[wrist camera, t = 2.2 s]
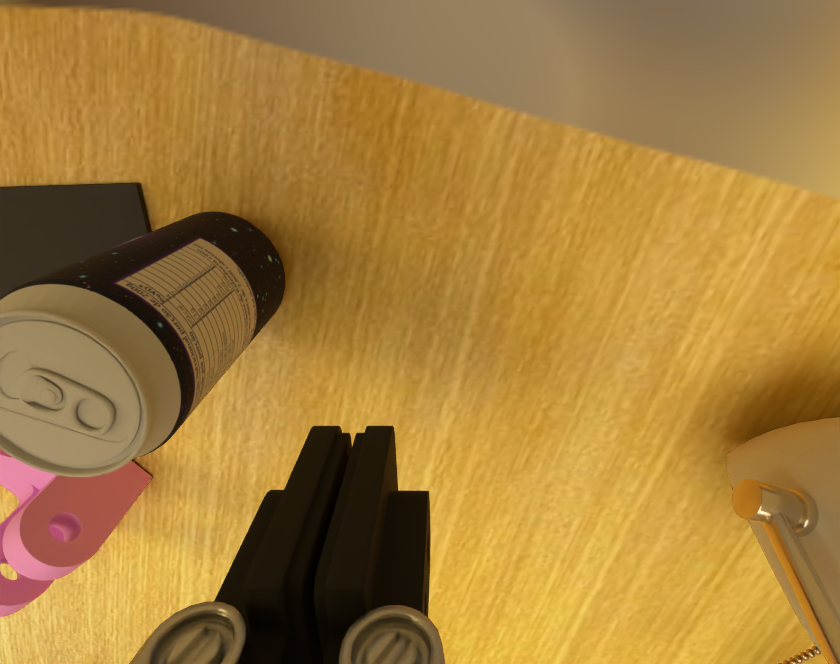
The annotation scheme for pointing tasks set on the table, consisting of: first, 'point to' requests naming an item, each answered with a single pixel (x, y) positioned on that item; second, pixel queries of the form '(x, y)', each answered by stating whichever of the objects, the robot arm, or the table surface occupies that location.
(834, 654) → the lamp
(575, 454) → the table surface
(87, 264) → the beverage can
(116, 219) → the rubber mat
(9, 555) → the bracket
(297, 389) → the table surface
